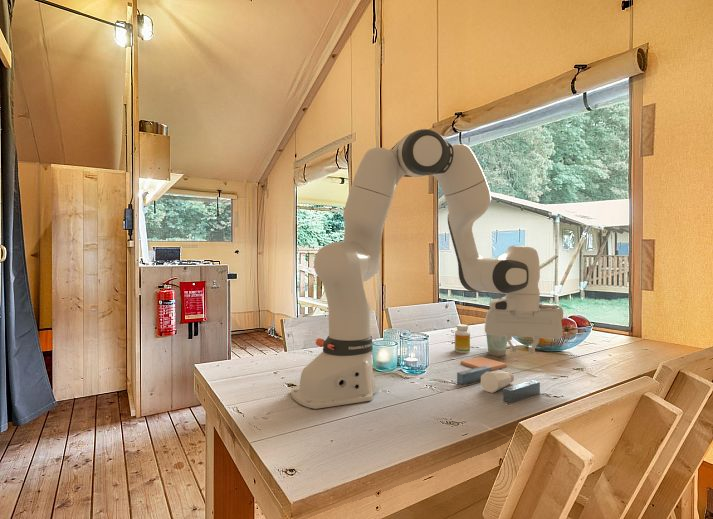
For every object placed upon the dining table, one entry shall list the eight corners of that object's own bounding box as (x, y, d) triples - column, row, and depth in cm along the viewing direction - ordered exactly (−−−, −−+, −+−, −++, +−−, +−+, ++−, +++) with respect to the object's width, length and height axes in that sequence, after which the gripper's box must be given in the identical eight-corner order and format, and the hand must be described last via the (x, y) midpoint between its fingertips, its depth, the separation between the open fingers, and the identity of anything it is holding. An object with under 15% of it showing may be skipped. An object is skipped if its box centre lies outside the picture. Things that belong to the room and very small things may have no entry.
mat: (485, 372, 118) (485, 368, 118) (460, 364, 126) (460, 361, 126) (506, 366, 123) (506, 363, 123) (481, 359, 131) (481, 356, 131)
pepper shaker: (495, 369, 100) (515, 365, 107) (477, 373, 103) (498, 369, 110) (501, 391, 98) (521, 385, 105) (483, 394, 101) (503, 388, 109)
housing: (510, 403, 93) (510, 390, 93) (457, 383, 107) (457, 372, 107) (539, 393, 99) (539, 381, 99) (485, 375, 114) (485, 365, 114)
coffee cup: (484, 355, 136) (484, 322, 136) (484, 350, 144) (484, 318, 144) (510, 357, 134) (511, 323, 133) (508, 351, 142) (508, 319, 142)
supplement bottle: (471, 353, 139) (471, 326, 139) (456, 353, 140) (456, 326, 139) (467, 349, 145) (467, 323, 145) (453, 349, 145) (453, 323, 145)
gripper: (560, 303, 109) (560, 352, 109) (484, 300, 115) (484, 347, 115) (566, 306, 103) (565, 357, 103) (485, 303, 109) (485, 352, 109)
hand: (522, 352), depth 109 cm, fingers open, 3 cm apart
